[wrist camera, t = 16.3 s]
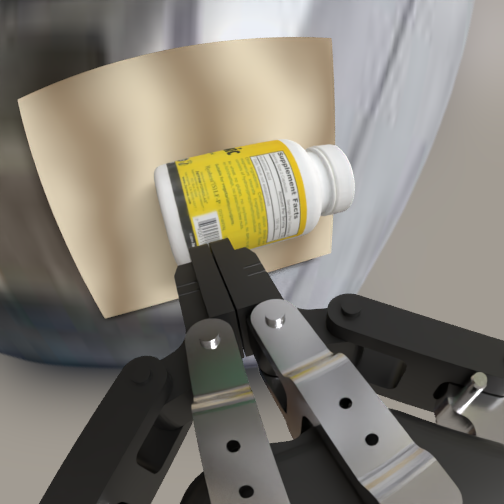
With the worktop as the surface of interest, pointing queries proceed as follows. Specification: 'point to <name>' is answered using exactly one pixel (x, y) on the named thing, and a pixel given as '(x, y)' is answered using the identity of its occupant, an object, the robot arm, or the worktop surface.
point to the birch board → (169, 149)
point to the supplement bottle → (251, 194)
